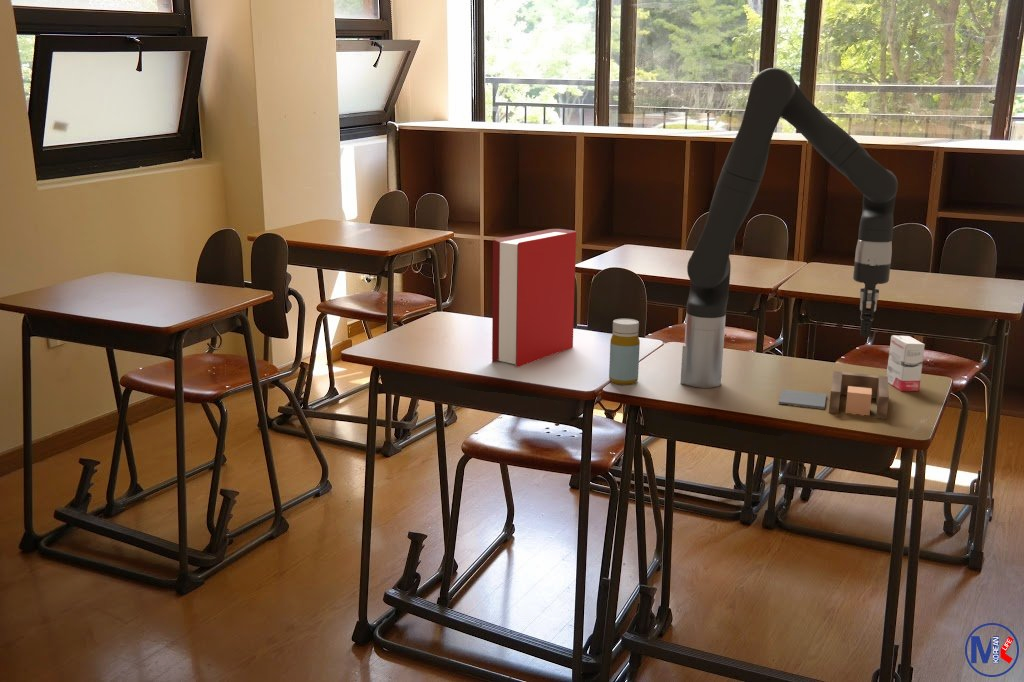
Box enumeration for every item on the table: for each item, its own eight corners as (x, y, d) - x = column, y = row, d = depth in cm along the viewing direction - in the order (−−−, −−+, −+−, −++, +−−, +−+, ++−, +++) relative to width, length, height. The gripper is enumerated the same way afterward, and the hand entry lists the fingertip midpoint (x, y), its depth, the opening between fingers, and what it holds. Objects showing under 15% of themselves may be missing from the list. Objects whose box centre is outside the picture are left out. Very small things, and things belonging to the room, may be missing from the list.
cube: (845, 413, 214) (847, 392, 212) (845, 407, 218) (848, 385, 217) (869, 416, 212) (871, 394, 211) (869, 409, 217) (871, 388, 215)
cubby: (828, 412, 214) (830, 391, 213) (831, 391, 229) (833, 371, 228) (886, 419, 210) (888, 397, 209) (885, 397, 226) (887, 376, 224)
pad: (778, 404, 219) (778, 401, 219) (782, 391, 228) (782, 389, 228) (824, 409, 216) (824, 406, 216) (826, 396, 225) (826, 394, 225)
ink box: (920, 391, 230) (926, 343, 227) (900, 391, 230) (905, 343, 227) (904, 381, 239) (909, 334, 236) (884, 381, 238) (890, 334, 235)
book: (516, 367, 246) (518, 242, 238) (492, 362, 250) (493, 239, 242) (575, 346, 267) (579, 231, 259) (551, 341, 272) (554, 228, 264)
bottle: (613, 376, 239) (616, 317, 236) (641, 379, 237) (643, 319, 233) (605, 383, 233) (607, 323, 229) (633, 387, 231) (636, 326, 227)
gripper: (855, 254, 222) (848, 328, 226) (854, 264, 209) (846, 341, 214) (890, 257, 219) (882, 331, 223) (891, 266, 207) (883, 344, 211)
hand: (865, 336), depth 219 cm, fingers closed
